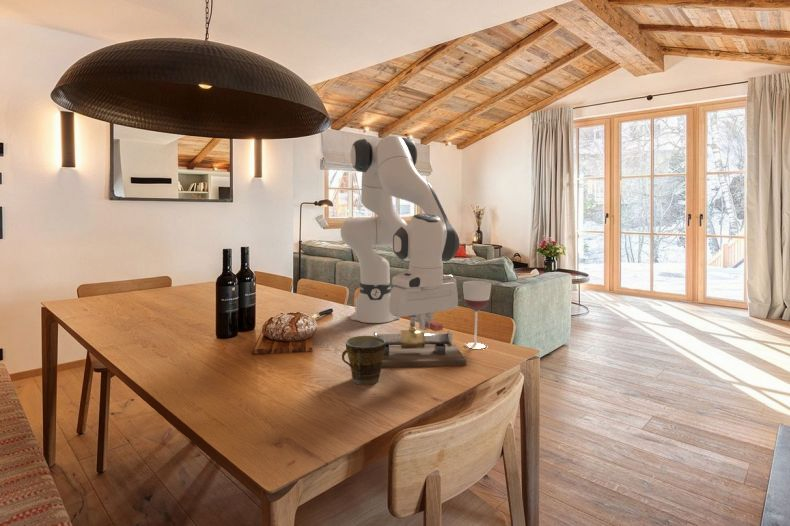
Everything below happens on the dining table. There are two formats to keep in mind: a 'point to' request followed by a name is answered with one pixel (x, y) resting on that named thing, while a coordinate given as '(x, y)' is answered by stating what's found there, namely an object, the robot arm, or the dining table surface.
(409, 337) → the pipe valve
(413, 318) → the valve lever
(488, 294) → the wineglass
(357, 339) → the ceramic cup
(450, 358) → the walnut board
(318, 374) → the dining table surface
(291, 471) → the dining table surface
